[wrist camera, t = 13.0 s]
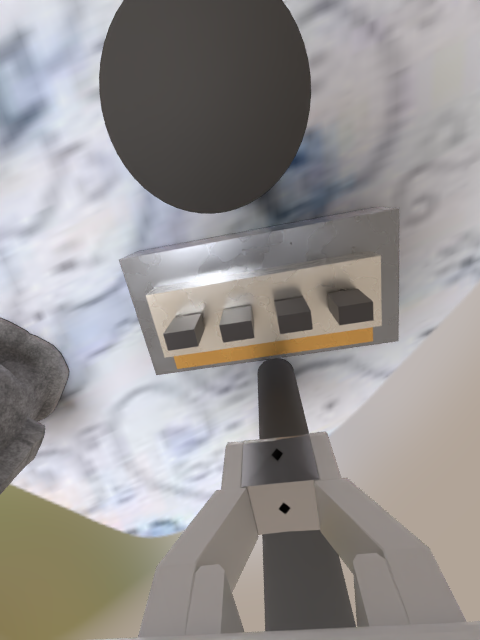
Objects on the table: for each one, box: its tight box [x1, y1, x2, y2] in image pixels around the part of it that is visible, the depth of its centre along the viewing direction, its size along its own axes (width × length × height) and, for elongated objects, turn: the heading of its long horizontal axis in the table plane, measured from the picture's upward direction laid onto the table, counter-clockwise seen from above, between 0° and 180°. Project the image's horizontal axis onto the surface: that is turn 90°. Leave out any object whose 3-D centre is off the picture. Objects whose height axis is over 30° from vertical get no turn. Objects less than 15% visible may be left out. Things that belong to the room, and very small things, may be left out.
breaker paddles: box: [163, 288, 374, 351], centre depth 20 cm, size 1×13×3 cm, turn 101°
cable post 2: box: [258, 358, 356, 631], centre depth 21 cm, size 4×4×20 cm
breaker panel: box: [119, 207, 399, 375], centre depth 24 cm, size 10×20×6 cm, turn 100°
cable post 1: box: [99, 0, 311, 213], centre depth 14 cm, size 4×4×20 cm
